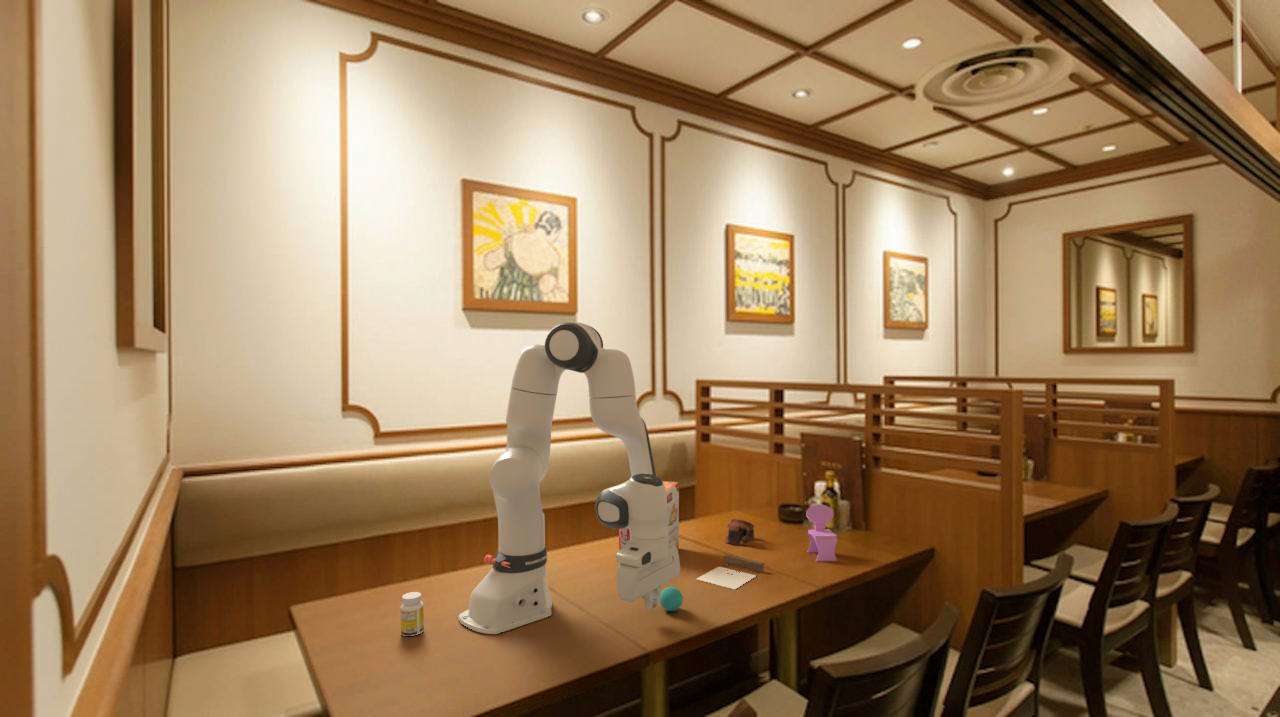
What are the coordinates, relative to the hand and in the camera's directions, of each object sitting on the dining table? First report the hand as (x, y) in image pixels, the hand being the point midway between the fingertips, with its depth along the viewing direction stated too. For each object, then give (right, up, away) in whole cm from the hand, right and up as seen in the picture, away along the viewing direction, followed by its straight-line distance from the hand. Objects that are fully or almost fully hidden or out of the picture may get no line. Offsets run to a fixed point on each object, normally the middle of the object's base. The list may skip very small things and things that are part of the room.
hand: (651, 607), depth 142 cm
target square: (+21, -3, +27) cm, 34 cm away
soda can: (-5, -3, +43) cm, 43 cm away
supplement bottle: (-53, -4, -4) cm, 53 cm away
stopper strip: (+27, -3, +35) cm, 44 cm away
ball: (+5, -1, +7) cm, 8 cm away
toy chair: (+52, -3, +44) cm, 68 cm away
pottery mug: (+30, -3, +58) cm, 66 cm away
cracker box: (+5, -3, +47) cm, 48 cm away
